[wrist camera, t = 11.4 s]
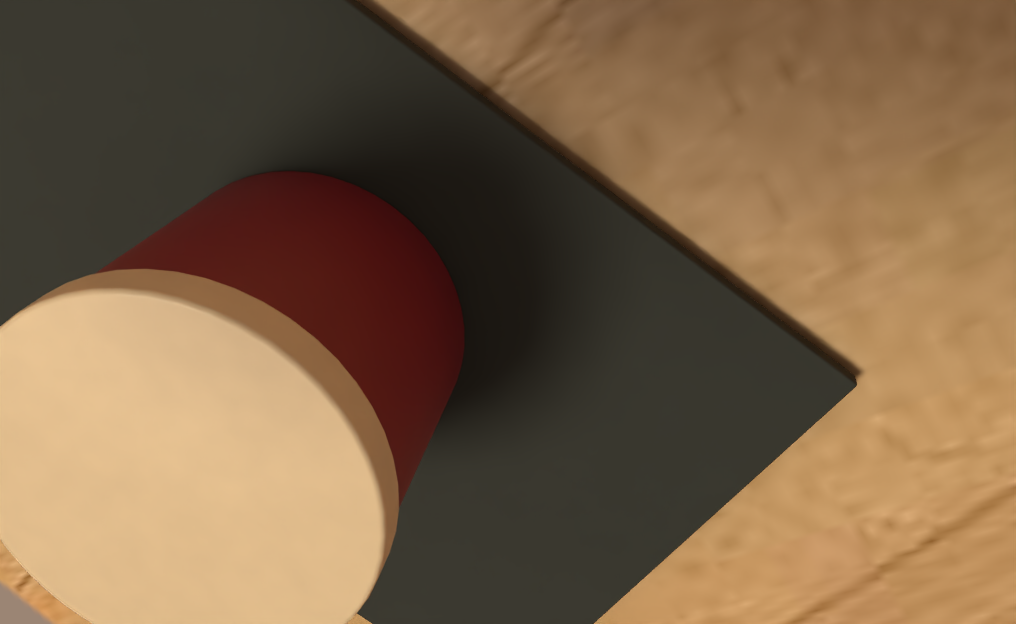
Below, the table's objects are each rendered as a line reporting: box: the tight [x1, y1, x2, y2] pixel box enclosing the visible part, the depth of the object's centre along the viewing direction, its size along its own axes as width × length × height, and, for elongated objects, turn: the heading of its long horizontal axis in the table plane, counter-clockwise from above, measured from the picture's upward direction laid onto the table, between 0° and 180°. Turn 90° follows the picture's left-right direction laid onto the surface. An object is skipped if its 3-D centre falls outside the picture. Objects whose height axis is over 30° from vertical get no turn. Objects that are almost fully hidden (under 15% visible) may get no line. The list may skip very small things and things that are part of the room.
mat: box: [0, 0, 857, 624], centre depth 19 cm, size 18×12×1 cm, turn 55°
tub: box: [0, 171, 464, 624], centre depth 17 cm, size 7×7×6 cm
